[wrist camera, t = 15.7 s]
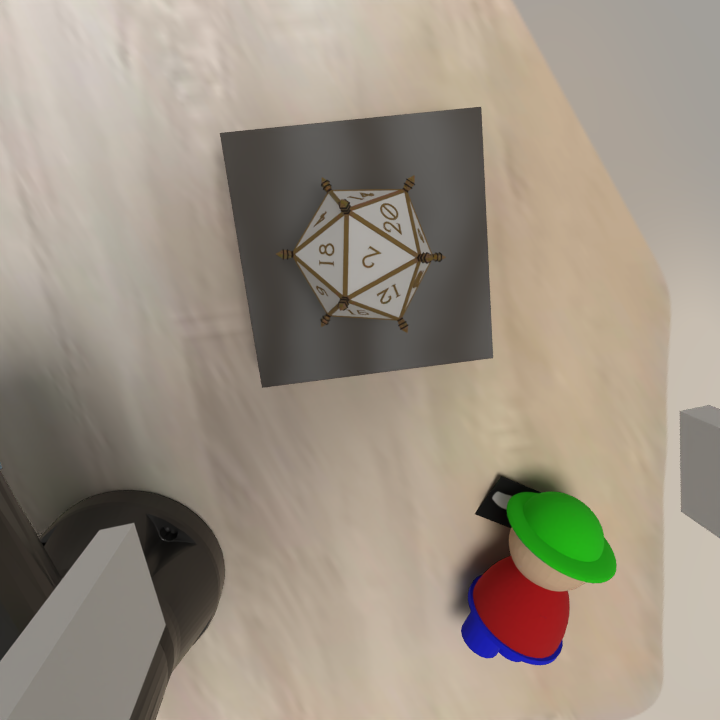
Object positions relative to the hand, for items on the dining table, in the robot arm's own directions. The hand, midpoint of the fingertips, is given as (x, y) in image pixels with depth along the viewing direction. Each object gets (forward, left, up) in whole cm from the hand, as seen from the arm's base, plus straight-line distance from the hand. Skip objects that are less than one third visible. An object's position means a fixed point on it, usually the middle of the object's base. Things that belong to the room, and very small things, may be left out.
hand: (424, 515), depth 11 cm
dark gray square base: (+1, +6, -27) cm, 28 cm away
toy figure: (+12, -21, -27) cm, 37 cm away
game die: (+1, +6, -22) cm, 22 cm away
